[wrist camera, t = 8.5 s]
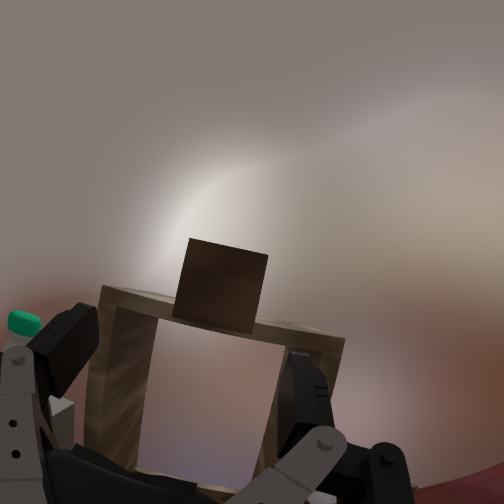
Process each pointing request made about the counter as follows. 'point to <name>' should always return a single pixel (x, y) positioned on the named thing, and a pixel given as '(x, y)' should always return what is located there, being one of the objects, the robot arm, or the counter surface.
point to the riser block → (63, 421)
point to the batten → (220, 286)
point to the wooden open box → (137, 369)
